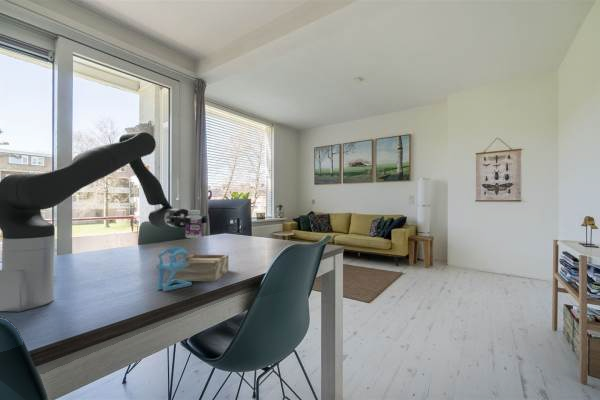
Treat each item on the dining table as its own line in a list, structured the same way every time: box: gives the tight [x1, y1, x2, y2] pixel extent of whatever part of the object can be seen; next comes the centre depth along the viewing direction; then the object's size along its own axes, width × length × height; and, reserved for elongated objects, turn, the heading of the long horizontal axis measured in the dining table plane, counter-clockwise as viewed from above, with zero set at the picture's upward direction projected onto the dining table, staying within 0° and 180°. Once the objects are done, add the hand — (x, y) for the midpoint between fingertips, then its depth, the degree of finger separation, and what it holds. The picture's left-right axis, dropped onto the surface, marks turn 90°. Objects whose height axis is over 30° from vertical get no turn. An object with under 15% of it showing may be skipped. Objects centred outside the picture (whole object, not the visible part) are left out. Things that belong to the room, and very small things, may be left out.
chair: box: [155, 246, 193, 292], centre depth 81 cm, size 8×8×12 cm
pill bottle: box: [185, 209, 203, 239], centre depth 94 cm, size 5×5×10 cm
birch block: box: [173, 253, 229, 282], centre depth 94 cm, size 14×14×6 cm
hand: (197, 220), depth 92 cm, fingers closed on pill bottle, 5 cm apart
